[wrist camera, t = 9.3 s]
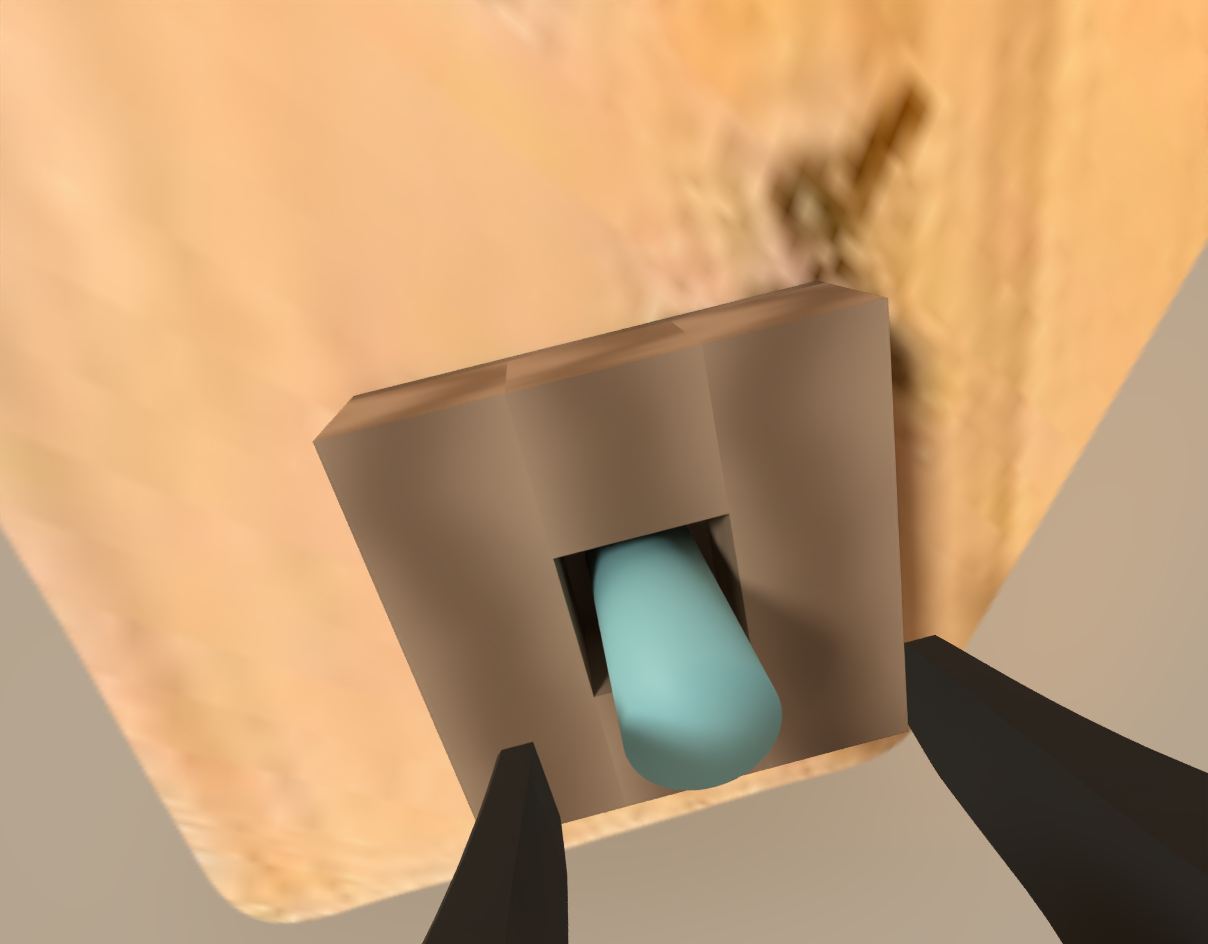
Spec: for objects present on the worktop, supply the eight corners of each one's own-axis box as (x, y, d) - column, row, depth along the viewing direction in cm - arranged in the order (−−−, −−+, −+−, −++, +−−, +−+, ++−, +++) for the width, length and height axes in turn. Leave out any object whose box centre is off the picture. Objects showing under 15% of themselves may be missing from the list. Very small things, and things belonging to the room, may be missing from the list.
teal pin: (680, 488, 21) (771, 643, 13) (698, 579, 22) (790, 765, 15) (573, 516, 20) (606, 688, 13) (598, 605, 22) (640, 807, 14)
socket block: (817, 281, 19) (888, 297, 15) (850, 653, 25) (907, 731, 21) (353, 396, 19) (312, 441, 15) (491, 747, 24) (485, 844, 21)
